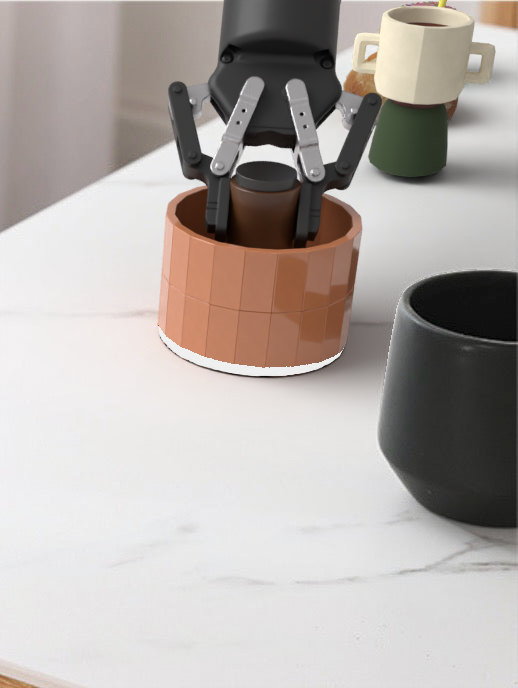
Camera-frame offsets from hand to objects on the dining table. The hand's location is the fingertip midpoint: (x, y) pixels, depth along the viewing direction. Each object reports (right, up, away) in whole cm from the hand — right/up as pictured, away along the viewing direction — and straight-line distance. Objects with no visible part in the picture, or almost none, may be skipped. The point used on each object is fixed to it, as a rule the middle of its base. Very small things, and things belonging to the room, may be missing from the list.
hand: (260, 240), depth 99 cm
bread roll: (+22, +16, +46) cm, 54 cm away
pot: (0, -6, +5) cm, 8 cm away
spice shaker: (0, -3, +4) cm, 5 cm away
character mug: (+19, +9, +32) cm, 39 cm away
